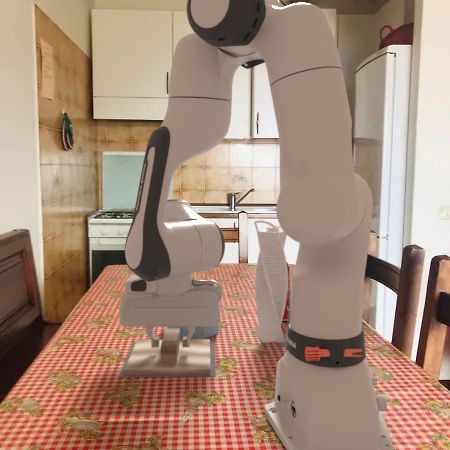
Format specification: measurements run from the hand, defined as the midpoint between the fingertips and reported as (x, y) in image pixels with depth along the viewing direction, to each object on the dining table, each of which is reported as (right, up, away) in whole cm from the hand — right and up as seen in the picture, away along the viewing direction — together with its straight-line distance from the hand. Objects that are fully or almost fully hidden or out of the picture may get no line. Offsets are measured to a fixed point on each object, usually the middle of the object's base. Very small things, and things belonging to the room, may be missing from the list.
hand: (170, 346), depth 98 cm
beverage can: (+25, 0, +28) cm, 38 cm away
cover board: (0, -2, 0) cm, 2 cm away
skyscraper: (+22, -2, +12) cm, 25 cm away
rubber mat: (0, -3, 0) cm, 3 cm away
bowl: (+3, -1, +17) cm, 18 cm away
